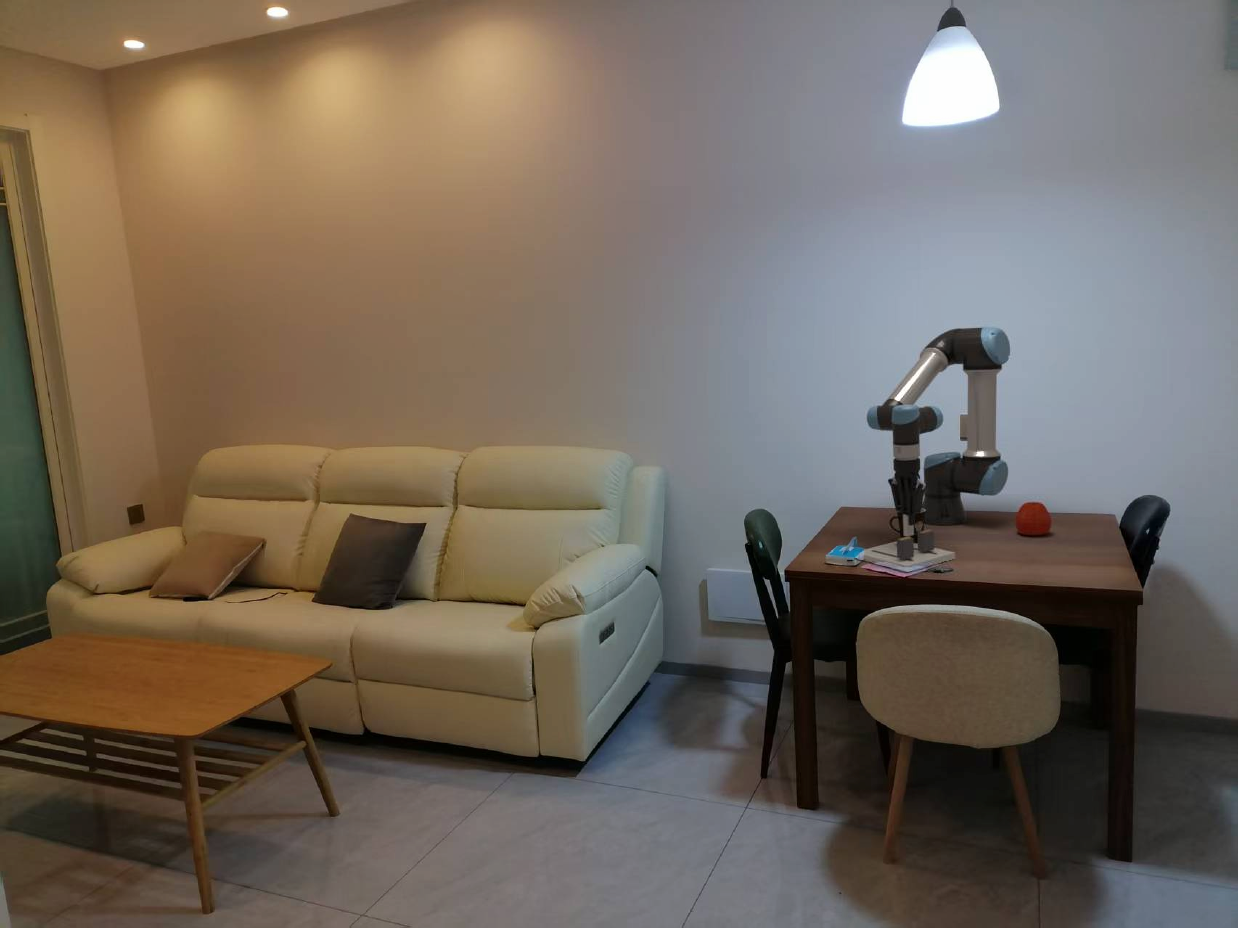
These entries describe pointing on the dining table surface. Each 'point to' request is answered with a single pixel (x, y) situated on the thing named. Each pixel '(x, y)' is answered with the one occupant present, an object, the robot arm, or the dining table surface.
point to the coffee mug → (917, 527)
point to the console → (890, 555)
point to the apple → (1033, 519)
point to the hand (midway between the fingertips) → (908, 535)
